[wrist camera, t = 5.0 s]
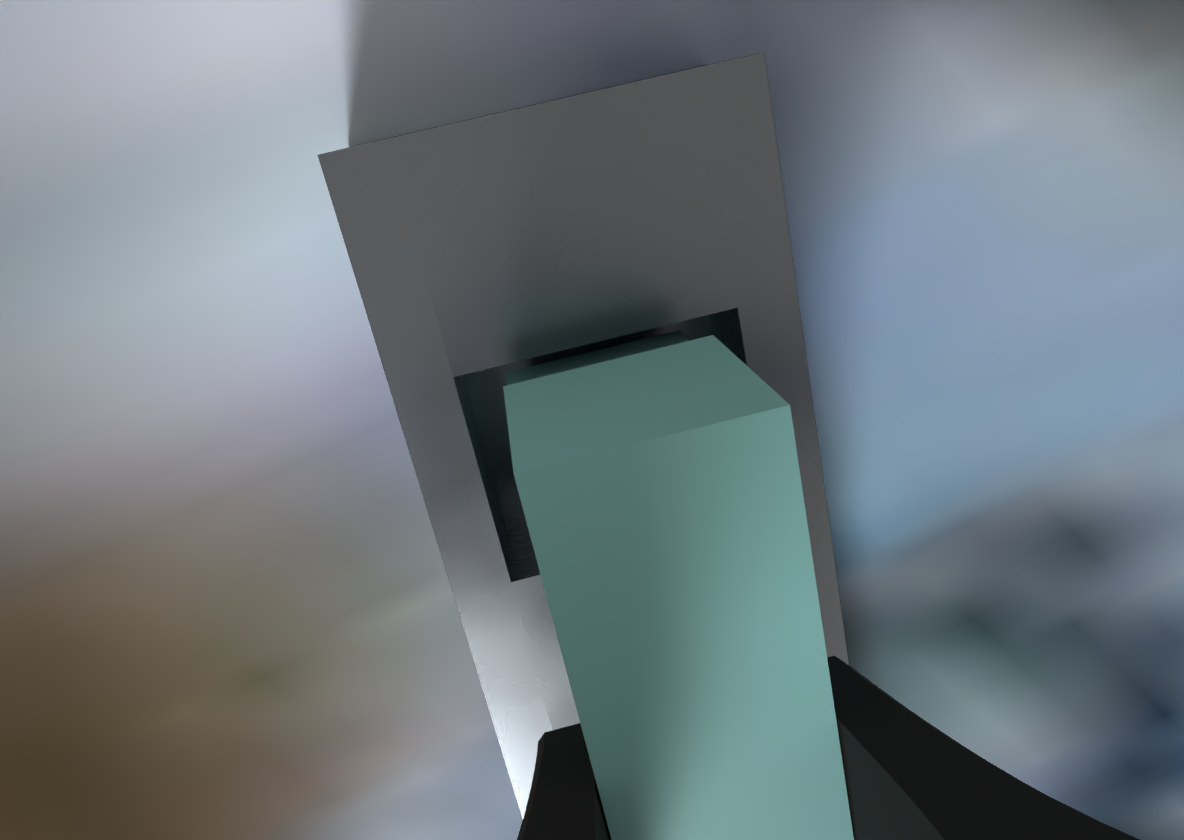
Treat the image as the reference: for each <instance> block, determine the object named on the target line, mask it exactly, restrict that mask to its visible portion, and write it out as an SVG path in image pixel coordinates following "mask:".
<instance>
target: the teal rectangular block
mask: <svg viewBox="0 0 1184 840" xmlns="http://www.w3.org/2000/svg"><path fill="white" fill-rule="evenodd" d="M506 378H507V386H503V389H504V398H505V406H506V415H507V423H508V431H509V440H510V448H511V456H512V465H513V473H514V477H515V481H516V485H517V489H518V492H519V496H520V500H521V504H522V507H523V511H524V515H525V519H526V522H527V526H528V530H529V533H530V537H531V541H532V545H533V548H534V552H535V556H536V560H537V563H538V567H539V571H540V575H541V578H542V582H543V586H544V589H545V593H546V597H547V601H548V604H549V608H550V612H551V616H552V619H553V623H554V627H555V631H556V634H557V638H558V642H559V645H560V649H561V653H562V657H563V660H564V664H565V668H566V672H567V675H568V679H569V683H570V687H571V690H572V694H573V698H574V701H575V705H576V709H577V713H578V716H579V720H580V724H581V728H582V731H583V735H584V739H585V743H586V746H587V750H588V754H589V757H590V761H591V765H592V769H593V772H594V776H595V780H596V784H597V787H598V791H599V795H600V799H601V802H602V806H603V810H604V813H605V817H606V821H607V825H608V828H609V832H610V836H611V840H854V837H853V830H852V823H851V816H850V810H849V803H848V796H847V789H846V782H845V776H844V769H843V762H842V755H841V748H840V742H839V735H838V728H837V721H836V714H835V708H834V701H833V694H832V687H831V680H830V673H829V667H828V660H827V653H826V646H825V639H824V633H823V626H822V619H821V612H820V605H819V599H818V592H817V585H816V578H815V571H814V565H813V558H812V551H811V544H810V537H809V530H808V524H807V517H806V510H805V503H804V496H803V490H802V483H801V476H800V469H799V462H798V456H797V449H796V442H795V435H794V428H793V422H792V415H791V408H790V404H788V403H787V402H786V401H785V400H784V399H783V398H782V397H781V396H780V395H779V394H777V393H776V392H775V391H774V390H773V389H772V388H771V387H770V386H769V385H768V384H766V383H765V382H764V381H763V380H762V379H761V378H760V377H759V376H758V375H757V374H755V373H754V372H753V371H752V370H751V369H750V368H749V367H748V366H747V365H746V364H744V363H743V362H742V361H741V360H740V359H739V358H738V357H737V356H736V355H735V354H733V353H732V352H731V351H730V350H729V349H728V348H727V347H726V346H725V345H724V344H722V343H721V342H720V341H719V340H718V339H717V338H716V337H715V336H714V335H711V336H707V337H703V338H698V339H694V340H689V339H688V338H687V337H686V336H685V335H684V334H683V333H682V332H681V331H680V330H677V331H673V332H669V333H665V334H661V335H657V336H653V337H649V338H645V339H640V340H636V341H632V342H628V343H624V344H620V345H616V346H612V347H608V348H604V349H600V350H595V351H591V352H587V353H583V354H579V355H575V356H571V357H567V358H563V359H559V360H555V361H550V362H546V363H542V364H538V365H534V366H530V367H526V368H522V369H518V370H514V371H510V372H506Z"/></svg>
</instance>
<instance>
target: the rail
mask: <svg viewBox="0 0 1184 840" xmlns="http://www.w3.org/2000/svg"><path fill="white" fill-rule="evenodd" d="M318 158H319V161H320V164H321V167H322V170H323V174H324V177H325V180H326V183H327V187H328V190H329V193H330V196H331V200H332V203H333V206H334V209H335V213H336V216H337V219H338V222H339V226H340V229H341V232H342V235H343V239H344V242H345V245H346V248H347V251H348V255H349V258H350V261H351V264H352V268H353V271H354V274H355V277H356V281H357V284H358V287H359V290H360V294H361V297H362V300H363V303H364V307H365V310H366V313H367V316H368V320H369V323H370V326H371V329H372V332H373V336H374V339H375V342H376V345H377V349H378V352H379V355H380V358H381V362H382V365H383V368H384V371H385V375H386V378H387V381H388V384H389V388H390V391H391V394H392V397H393V401H394V404H395V407H396V410H397V413H398V417H399V420H400V423H401V426H402V430H403V433H404V436H405V439H406V443H407V446H408V449H409V452H410V456H411V459H412V462H413V465H414V469H415V472H416V475H417V478H418V482H419V485H420V488H421V491H422V494H423V498H424V501H425V504H426V507H427V511H428V514H429V517H430V520H431V524H432V527H433V530H434V533H435V537H436V540H437V543H438V546H439V550H440V553H441V556H442V559H443V563H444V566H445V569H446V572H447V575H448V579H449V582H450V585H451V588H452V592H453V595H454V598H455V601H456V605H457V608H458V611H459V614H460V618H461V621H462V624H463V627H464V631H465V634H466V637H467V640H468V644H469V647H470V650H471V653H472V656H473V660H474V663H475V666H476V669H477V673H478V676H479V679H480V682H481V686H482V689H483V692H484V695H485V699H486V702H487V705H488V708H489V712H490V715H491V718H492V721H493V725H494V728H495V731H496V734H497V737H498V741H499V744H500V747H501V750H502V754H503V757H504V760H505V763H506V767H507V770H508V773H509V776H510V780H511V783H512V786H513V789H514V793H515V796H516V799H517V802H518V806H519V809H520V812H521V815H522V819H523V818H524V814H525V810H526V806H527V802H528V798H529V794H530V789H531V785H532V780H533V775H534V770H535V764H536V757H537V749H538V741H539V740H540V738H541V737H542V735H543V734H544V732H548V731H552V730H556V729H559V728H563V727H567V726H571V725H574V724H578V723H580V720H579V716H578V713H577V709H576V705H575V701H574V698H573V694H572V690H571V687H570V683H569V679H568V675H567V672H566V668H565V664H564V660H563V657H562V653H561V649H560V645H559V642H558V638H557V634H556V631H555V627H554V623H553V619H552V616H551V612H550V608H549V604H548V601H547V597H546V593H545V589H544V586H543V582H542V578H541V575H540V571H539V567H538V563H537V560H536V556H535V552H534V548H533V545H532V541H531V537H530V533H529V530H528V526H527V522H526V519H525V515H524V511H523V507H522V504H521V500H520V496H519V492H518V489H517V485H516V481H515V477H514V473H513V465H512V456H511V448H510V440H509V431H508V423H507V415H506V406H505V398H504V389H503V386H507V378H506V372H510V371H514V370H518V369H522V368H526V367H530V366H534V365H538V364H542V363H546V362H550V361H555V360H559V359H563V358H567V357H571V356H575V355H579V354H583V353H587V352H591V351H595V350H600V349H604V348H608V347H612V346H616V345H620V344H624V343H628V342H632V341H636V340H640V339H645V338H649V337H653V336H657V335H661V334H665V333H669V332H673V331H677V330H680V331H681V332H682V333H683V334H684V335H685V336H686V337H687V338H688V339H689V340H694V339H698V338H703V337H707V336H711V335H714V336H715V337H716V338H717V339H718V340H719V341H720V342H721V343H722V344H724V345H725V346H726V347H727V348H728V349H729V350H730V351H731V352H732V353H733V354H735V355H736V356H737V357H738V358H739V359H740V360H741V361H742V362H743V363H744V364H746V365H747V366H748V367H749V368H750V369H751V370H752V371H753V372H754V373H755V374H757V375H758V376H759V377H760V378H761V379H762V380H763V381H764V382H765V383H766V384H768V385H769V386H770V387H771V388H772V389H773V390H774V391H775V392H776V393H777V394H779V395H780V396H781V397H782V398H783V399H784V400H785V401H786V402H787V403H788V404H790V408H791V415H792V422H793V428H794V435H795V442H796V449H797V456H798V462H799V469H800V476H801V483H802V490H803V496H804V503H805V510H806V517H807V524H808V530H809V537H810V544H811V551H812V558H813V565H814V571H815V578H816V585H817V592H818V599H819V605H820V612H821V619H822V626H823V633H824V639H825V646H826V653H827V657H831V656H836V657H837V658H839V659H841V660H842V661H844V662H845V663H846V664H848V665H849V662H848V655H847V648H846V641H845V633H844V626H843V619H842V612H841V605H840V597H839V590H838V583H837V576H836V568H835V561H834V554H833V547H832V540H831V532H830V525H829V518H828V511H827V503H826V496H825V489H824V482H823V475H822V467H821V460H820V453H819V446H818V438H817V431H816V424H815V417H814V410H813V402H812V395H811V388H810V381H809V373H808V366H807V359H806V352H805V345H804V337H803V330H802V323H801V316H800V308H799V301H798V294H797V287H796V280H795V272H794V265H793V258H792V251H791V244H790V236H789V229H788V222H787V215H786V207H785V200H784V193H783V186H782V179H781V171H780V164H779V157H778V150H777V142H776V135H775V128H774V121H773V114H772V106H771V99H770V92H769V85H768V77H767V70H766V63H765V56H764V53H759V54H755V55H750V56H746V57H741V58H737V59H732V60H727V61H723V62H718V63H714V64H709V65H705V66H701V67H696V68H692V69H688V70H683V71H679V72H675V73H670V74H666V75H661V76H657V77H653V78H648V79H644V80H640V81H635V82H631V83H627V84H622V85H618V86H614V87H609V88H605V89H601V90H596V91H592V92H588V93H583V94H579V95H574V96H570V97H566V98H561V99H557V100H553V101H548V102H544V103H540V104H535V105H531V106H527V107H522V108H518V109H514V110H509V111H505V112H501V113H496V114H492V115H487V116H483V117H479V118H474V119H470V120H466V121H461V122H457V123H453V124H448V125H444V126H440V127H435V128H431V129H427V130H422V131H418V132H414V133H409V134H405V135H401V136H396V137H392V138H387V139H383V140H379V141H374V142H370V143H366V144H361V145H357V146H353V147H348V148H344V149H340V150H336V151H332V152H328V153H324V154H320V155H318Z"/></svg>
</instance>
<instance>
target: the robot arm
mask: <svg viewBox="0 0 1184 840" xmlns="http://www.w3.org/2000/svg"><path fill="white" fill-rule="evenodd" d="M827 660H828V667H829V673H830V680H831V687H832V694H833V701H834V708H835V714H836V721H837V728H838V735H839V742H840V748H841V755H842V762H843V769H844V776H845V782H846V789H847V796H848V803H849V810H850V816H851V823H852V830H853V837H854V840H1139V839H1137V838H1135V837H1132V836H1130V835H1128V834H1126V833H1123V832H1121V831H1119V830H1117V829H1115V828H1112V827H1110V826H1108V825H1106V824H1104V823H1101V822H1099V821H1097V820H1095V819H1093V818H1091V817H1089V816H1087V815H1085V814H1083V813H1081V812H1079V811H1077V810H1075V809H1073V808H1071V807H1069V806H1067V805H1065V804H1063V803H1061V802H1059V801H1057V800H1055V799H1053V798H1051V797H1049V796H1047V795H1045V794H1043V793H1042V792H1040V791H1038V790H1036V789H1034V788H1032V787H1031V786H1029V785H1027V784H1025V783H1023V782H1022V781H1020V780H1018V779H1017V778H1015V777H1013V776H1012V775H1010V774H1008V773H1006V772H1005V771H1003V770H1001V769H1000V768H998V767H996V766H995V765H993V764H991V763H990V762H988V761H986V760H985V759H983V758H981V757H980V756H978V755H977V754H975V753H973V752H972V751H970V750H969V749H967V748H965V747H964V746H962V745H961V744H959V743H958V742H956V741H955V740H953V739H952V738H950V737H949V736H947V735H946V734H944V733H943V732H941V731H940V730H938V729H937V728H935V727H934V726H932V725H931V724H929V723H928V722H926V721H925V720H923V719H922V718H920V717H919V716H917V715H916V714H915V713H913V712H912V711H910V710H909V709H907V708H906V707H905V706H903V705H902V704H900V703H899V702H898V701H896V700H895V699H894V698H892V697H891V696H889V695H888V694H887V693H885V692H884V691H883V690H881V689H880V688H878V687H877V686H876V685H874V684H873V683H872V682H870V681H869V680H868V679H866V678H865V677H864V676H862V675H861V674H860V673H858V672H857V671H856V670H854V669H853V668H852V667H850V666H849V665H848V664H846V663H845V662H844V661H842V660H841V659H839V658H837V657H836V656H831V657H827ZM517 840H611V836H610V832H609V828H608V825H607V821H606V817H605V813H604V810H603V806H602V802H601V799H600V795H599V791H598V787H597V784H596V780H595V776H594V772H593V769H592V765H591V761H590V757H589V754H588V750H587V746H586V743H585V739H584V735H583V731H582V728H581V724H580V723H578V724H574V725H571V726H567V727H563V728H559V729H556V730H552V731H548V732H544V734H543V735H542V737H541V738H540V740H539V741H538V749H537V757H536V764H535V770H534V775H533V780H532V785H531V789H530V794H529V798H528V802H527V806H526V810H525V814H524V818H523V821H522V825H521V828H520V832H519V835H518V839H517Z"/></svg>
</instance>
